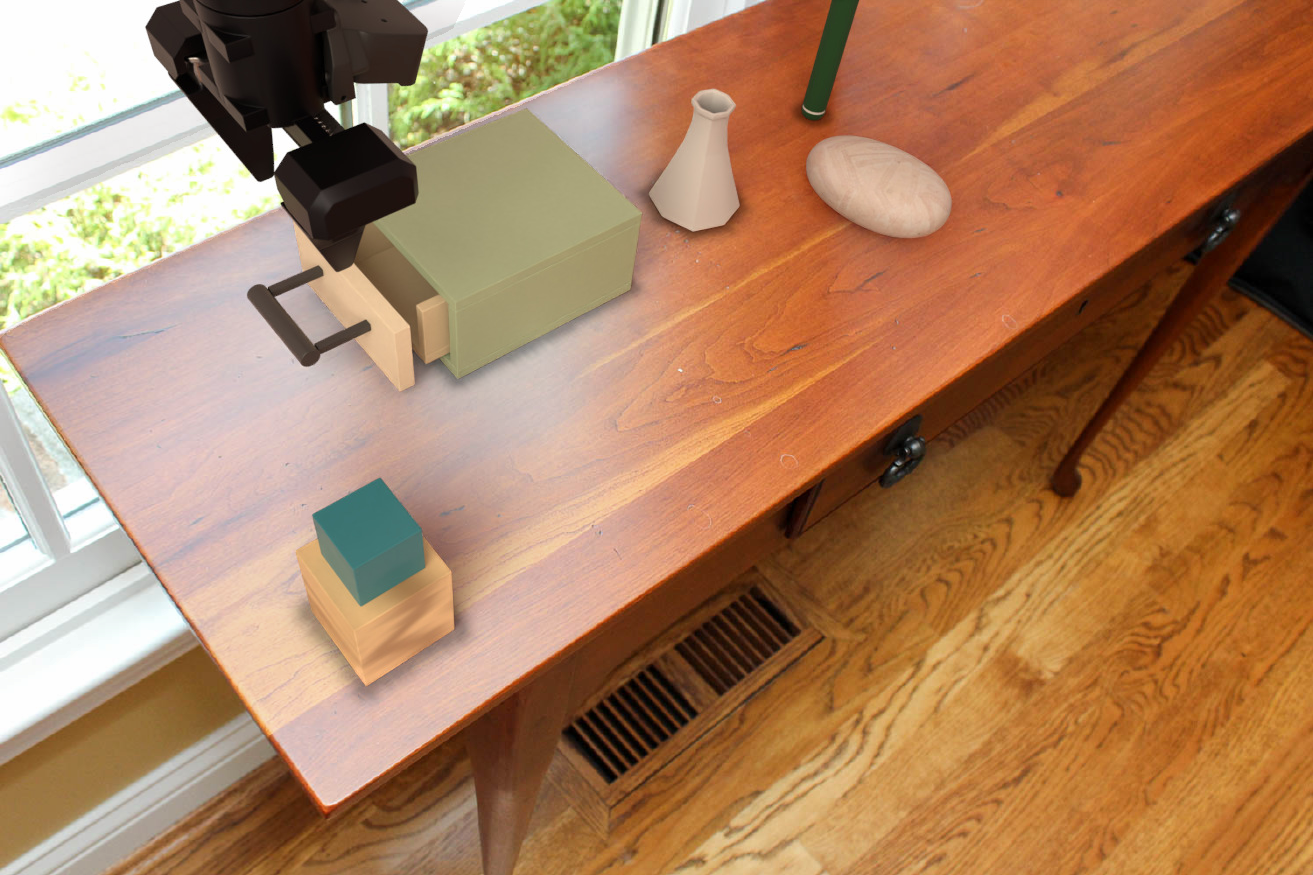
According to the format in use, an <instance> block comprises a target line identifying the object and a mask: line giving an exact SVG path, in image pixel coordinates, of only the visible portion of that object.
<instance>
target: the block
mask: <svg viewBox="0 0 1313 875" xmlns="http://www.w3.org/2000/svg"><path fill="white" fill-rule="evenodd" d="M311 517H312V521H313V525H314V530H315V533H316V539H317V538H318V542H319V546H320V550H321V554H322V556H323V557H324V558H325V560H326V561H327V562H328V564H329V565H330V566H331V568H332V569H333V570H334V572H335V573H336V575H337V576H338V577H339V579H340V580H341V581H342V583H343V584H344V585H345V587H346V588H347V589H348V591H349V592H350V593H351V595H352V596H353V597H354V599H355V600H356V601H357V603H358V604H359V605H360V606H363V605H365V604H367V603H368V602H370V601H371V600H373V599H375V598H376V597H378V596H380V595H381V594H383V593H385V592H386V591H388V590H390V589H391V588H393V587H395V586H396V585H398V584H399V583H401V582H403V581H404V580H406V579H408V578H409V577H411V576H413V575H414V574H416V573H418V572H419V571H421V570H423V569H424V568H425V556H424V545H423V536H424V534H423V528H422V527H421V526H420V525H419V523H418V522H417V521H416V520H415V519H414V517H413V516H412V515H411V513H410V512H409V511H408V510H407V509H406V507H405V506H404V504H403V503H402V502H401V501H400V500H399V499H398V497H397V496H396V495H395V494H394V493H393V491H392V490H391V488H390V487H389V486H388V485H387V483H386V482H385V481H384V480H383V479H382V477H378V478H376V479H374V480H372V481H369V483H366V484H365V485H363V486H361V487H359V488H358V489H356V490H354V491H352V492H350V493H348V494H347V495H345V496H342V497H341V498H339V499H338V500H336V501H334V502H332V503H330V504H328V505H326V506H325V507H323V508H321V509H319V510H318V511H317V510H316V512H313V513H312V514H311Z"/></svg>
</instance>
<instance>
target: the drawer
mask: <svg viewBox="0 0 1313 875" xmlns="http://www.w3.org/2000/svg"><path fill="white" fill-rule="evenodd" d="M292 223H293V229H294V234H295V239H296V244H297V249H298V255H299V260H300V264H301V272H299V273H297V274H295V275H292V276H290V277H286V278H285V279H283V280H280V281H278V282H276V283H273V284H271V285H269V286H266V285H265V284H262V283H258V284H254V285H252V286H251V287H250V288H249V289H248V290H247V293H246V298H247V300H248V301H249V302H250V303H251V304H252V306H253V307H254V308H255V310H256V311H257V312H258V313H259V315H260V316H261V317H262V318H263V319H264V320H265V322H266V323H267V324H268V325H269V327H270V328H271V329H272V330H273V332H274V333H275V334H276V335H277V337H278V338H279V339H280V340H281V341H282V343H283V344H284V345H285V346H286V348H287V349H288V350H289V351H290V353H291V354H292V355H293V356H294V358H295V359H296V361H298V362H299V364H300V365H301V366H303V367H305V368H307V367H308V368H309V367H312V366H314V365H315V364H317V363H318V362H319V360H320V358H321V355H323V354H324V353H327V352H329V351H331V350H333V349H335V348H337V347H340V346H341V345H344V344H346V343H348V342H351V341H352V340H355V341H356V342H357V343H358V345H359V346H360V347H361V348H362V350H363V351H364V352H365V353H366V355H367V356H369V358H370V359H371V360H372V361H373V362H374V364H375V365H376V366H377V367H378V368H379V370H380V371H382V373H383V374H384V375H385V376H386V378H387V379H388V380H389V381H390V382H391V383H392V385H393V386H394V387H395V388H396V389H397V391H398V392H399V393H401V392H403V391H405V390H407V389H409V388H411V387H413V386H415V384H416V382H415V381H416V380H415V370H414V358H413V357H414V356H413V352H415V354H416V355H417V356H418V357H419V358H420V359H421V360H422V362H423V363H424V364H425V365H428V364H430V363H432V362H434V361H436V360H438V359H439V358H440V357H442V356H444V355H446V354H448V353H450V336H449V311H448V303H447V302H446V301H445V300H444V299H443V298H442V296H441V295H440V294H439V293H438V292H437V291H436V290H435V289H434V288H433V287H432V286H431V285H430V284H429V282H428V281H427V280H426V279H425V278H424V277H423V276H422V275H421V274H420V273H419V272H418V271H417V270H416V268H415V267H414V266H413V265H412V264H411V263H410V262H409V261H408V260H407V259H406V258H405V257H404V256H403V254H402V253H401V252H400V251H399V250H398V249H397V248H396V247H395V246H394V245H393V244H392V243H391V242H390V240H389V239H388V238H387V237H386V236H385V235H384V234H383V233H382V232H381V231H380V230H379V229H378V228H377V226H376V225H375V224H374V223H373V222H372V223H369V224H367V225H366V226H365V229H364V232H363V235H362V238H361V241H360V244H359V247H358V250H357V253H356V256H355V260H354V263H353V265H352V266H351V267H349V268H347V269H345V270H342V271H340V272H335V271H334V269H333V268H332V267H331V266H330V265H329V263H328V262H327V261H326V260H325V258H324V257H323V256H322V255H321V254H320V252H319V251H318V250H317V249H316V248H315V246H314V245H313V244H312V243H311V241H310V240H309V239H308V238H307V236H306V235H305V234H304V233H303V232H302V230H301V229H300V228H299V227H298V226H297V224H296V223H295V222H294V221H293V220H292ZM306 284H307V285H308V286H309V287H310V289H311V290H312V291H313V292H314V293H315V294H316V296H317V297H318V298H319V299H320V301H322V303H323V304H324V305H325V306H326V307H327V308H328V310H329V311H330V312H331V313H332V315H333V316H335V318H336V319H337V321H339V322H340V324H341V325H342V326H343V328H344V329H342V330H339V331H338V332H336V333H334V334H332V335H330V336H327V337H325V338H323V339H320V340H318V341H316V342H314V343H313V341H312V340H311V339H310V338H309V337H308V335H307V334H306V333H305V332H304V331H303V329H302V328H301V327H300V326H299V325H298V323H296V321H295V320H294V318H292V316H291V315H290V314H289V313H288V311H287V310H286V309H285V308H284V306H282V304H281V303H280V301H279V300H278V299H277V298H276V297H279V296H281V295H284V294H286V293H287V292H290V291H292V290H294V289H297V288H299V287H302V286H303V285H306Z"/></svg>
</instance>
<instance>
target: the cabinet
mask: <svg viewBox="0 0 1313 875" xmlns="http://www.w3.org/2000/svg"><path fill="white" fill-rule="evenodd" d="M405 155H406V156H407V157H408V158H409V159H410V160H411V161H412V162H413V163H414V164H415V165H416V168H417V179H418V189H419V194H418V197H417V200H416V203H415V204H413V205H411V206H408V207H406V208H404V209H401V210H399V211H397V212H395V213H392V214H390V215H388V216H385V217H383V218H381V219H379V220H376V221H374V222H373V223H374V224H375V225H376V226H377V228H378V229H379V230H380V231H381V232H382V233H383V234H384V235H385V236H386V237H387V238H388V239H389V240H390V242H391V243H392V244H393V245H394V246H395V247H396V248H397V249H398V250H399V251H400V252H401V253H402V254H403V256H404V257H405V258H406V259H407V260H408V261H409V262H410V263H411V264H412V265H413V266H414V267H415V268H416V270H417V271H418V272H419V273H420V274H421V275H422V276H423V277H424V278H425V279H426V280H427V281H428V282H429V284H430V285H431V286H432V287H433V288H434V289H435V290H436V291H437V292H438V293H439V294H440V295H441V296H442V298H443V299H444V300H445V301H446V302H447V303H448V311H449V336H450V353H448V354H446V355H444V356H442V357H440V358H438V359H439V360H440V362H442V363H443V365H444V366H445V367H446V368H447V369H448V370H449V372H451V374H452V375H453V376H454V377H455V378H456V379H457V380H459V379H461V378H463V377H465V376H467V375H469V374H470V373H472V372H475V371H476V370H478V369H480V368H482V367H485V366H486V365H488V364H490V363H492V362H494V361H496V360H498V359H500V358H501V357H503V356H506V355H508V354H509V353H511V352H513V351H515V350H517V349H519V348H521V347H522V346H525V345H526V344H529V343H530V342H532V341H534V340H536V339H538V338H541V337H542V336H544V335H546V334H547V333H550V332H552V331H554V330H555V329H557V328H559V327H561V326H564V325H565V324H567V323H569V322H571V321H573V320H575V319H577V318H579V317H580V316H583V315H585V314H587V313H589V312H590V311H592V310H594V309H596V308H598V307H600V306H601V305H603V304H605V303H607V302H609V301H612V300H614V299H615V298H617V297H619V296H621V295H623V294H625V293H626V292H628V291H631V289H632V282H633V277H634V268H635V263H636V255H637V250H638V242H639V236H640V230H641V222H642V220H643V219H642V218H643V212H642V211H641V210H640V209H639V208H638V207H637V206H636V205H634V204H633V203H632V201H630V200H629V199H628V198H627V197H626V196H624V194H623V193H622V192H620V191H619V190H618V189H617V188H616V187H615V186H614V185H613V184H612V183H611V182H609V181H608V179H606V178H605V177H604V176H603V175H602V174H600V173H599V172H598V171H597V170H596V169H595V168H594V167H593V166H592V165H591V164H589V163H588V162H587V161H586V160H585V159H584V158H582V157H581V156H580V155H579V154H578V153H577V152H576V151H575V150H574V149H573V148H572V147H570V146H569V145H568V144H567V143H566V141H564V140H563V139H562V138H561V137H559V136H558V134H556V133H555V132H554V131H553V130H552V129H551V128H549V127H548V125H546V124H545V122H543V121H542V120H541V119H540V118H538V117H537V116H536V115H535V114H534V113H533V112H532V111H531V110H530V109H529V108H527V107H526V108H522V109H521V110H518V111H516V112H513V113H510V114H508V115H506V116H503V117H501V118H497V119H495V120H493V121H490V122H488V123H487V122H486V123H484V124H483V125H480V126H477V127H475V128H473V129H469V130H467V131H465V132H462V133H460V134H456V135H455V136H452V137H450V138H448V139H444V140H442V141H439V142H437V143H434V144H432V145H429V146H426V147H424V148H422V149H419V150H416V151H414V152H411V153H408V154H405Z"/></svg>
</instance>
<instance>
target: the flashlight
mask: <svg viewBox="0 0 1313 875" xmlns="http://www.w3.org/2000/svg"><path fill="white" fill-rule="evenodd" d="M859 3H860V0H831V1H830V5H829V9H828V12H827V16H826V19H825V23H824V26H823V30H822V33H821V37H820V40H819V43H818V47H817V52H816V55H815V58H814V62H813V66H812V68H811V73H810V76H809V81H808V83H807V87H806V91H805V94H804V97H803V101H802V104H801V113H802V116H803V117H804V118H805V119H807V120H809V121H814V122H815V121H819V120H821V119H822V118H823V117H824V116H825V114H826V111H827V108H828V105H829V102H830V98H831V95H832V92H833V89H834V84H835V82H836V78H837V74H838V72H839V69H840V65H841V62H842V59H843V56H844V52H845V49H846V45H847V42H848V39H849V36H850V32H851V29H852V26H853V23H854V19H855V16H856V13H857V9H858V6H859Z"/></svg>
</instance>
